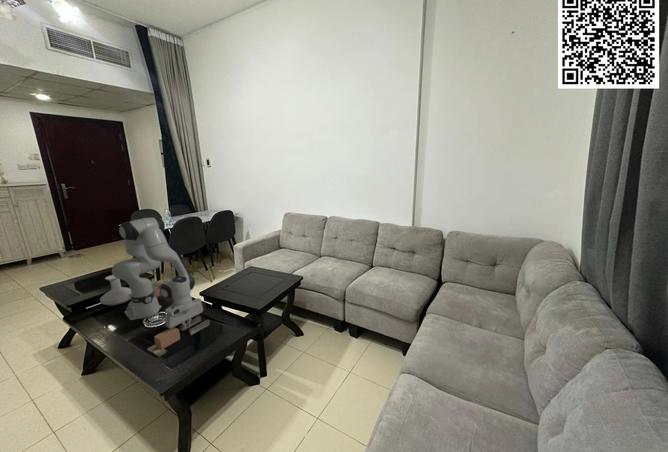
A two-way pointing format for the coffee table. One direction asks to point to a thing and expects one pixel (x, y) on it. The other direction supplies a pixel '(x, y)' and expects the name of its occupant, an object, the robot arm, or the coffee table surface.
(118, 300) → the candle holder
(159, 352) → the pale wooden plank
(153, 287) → the stack of blocks
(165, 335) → the terracotta block
